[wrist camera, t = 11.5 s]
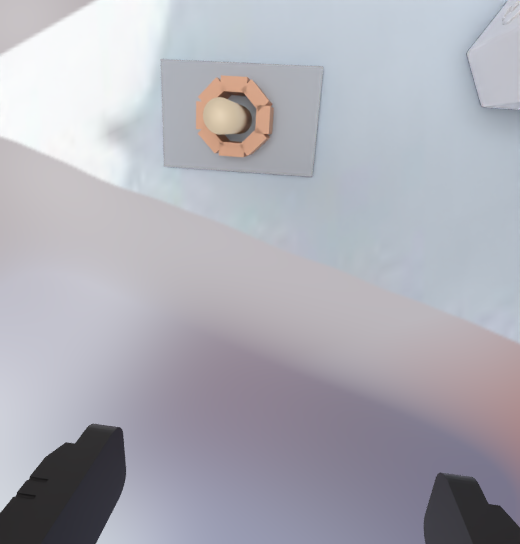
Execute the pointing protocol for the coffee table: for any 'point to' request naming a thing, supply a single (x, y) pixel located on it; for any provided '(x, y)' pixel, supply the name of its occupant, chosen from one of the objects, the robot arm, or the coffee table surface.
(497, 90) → the jar
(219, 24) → the coffee table surface
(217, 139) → the ring
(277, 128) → the post block
